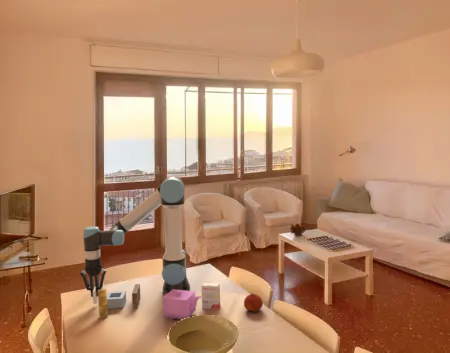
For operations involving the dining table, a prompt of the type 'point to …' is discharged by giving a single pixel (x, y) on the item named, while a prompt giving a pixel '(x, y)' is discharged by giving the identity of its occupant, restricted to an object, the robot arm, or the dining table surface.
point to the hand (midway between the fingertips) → (95, 302)
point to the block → (116, 299)
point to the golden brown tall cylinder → (102, 303)
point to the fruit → (253, 302)
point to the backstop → (136, 296)
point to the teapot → (179, 304)
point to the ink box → (210, 295)
